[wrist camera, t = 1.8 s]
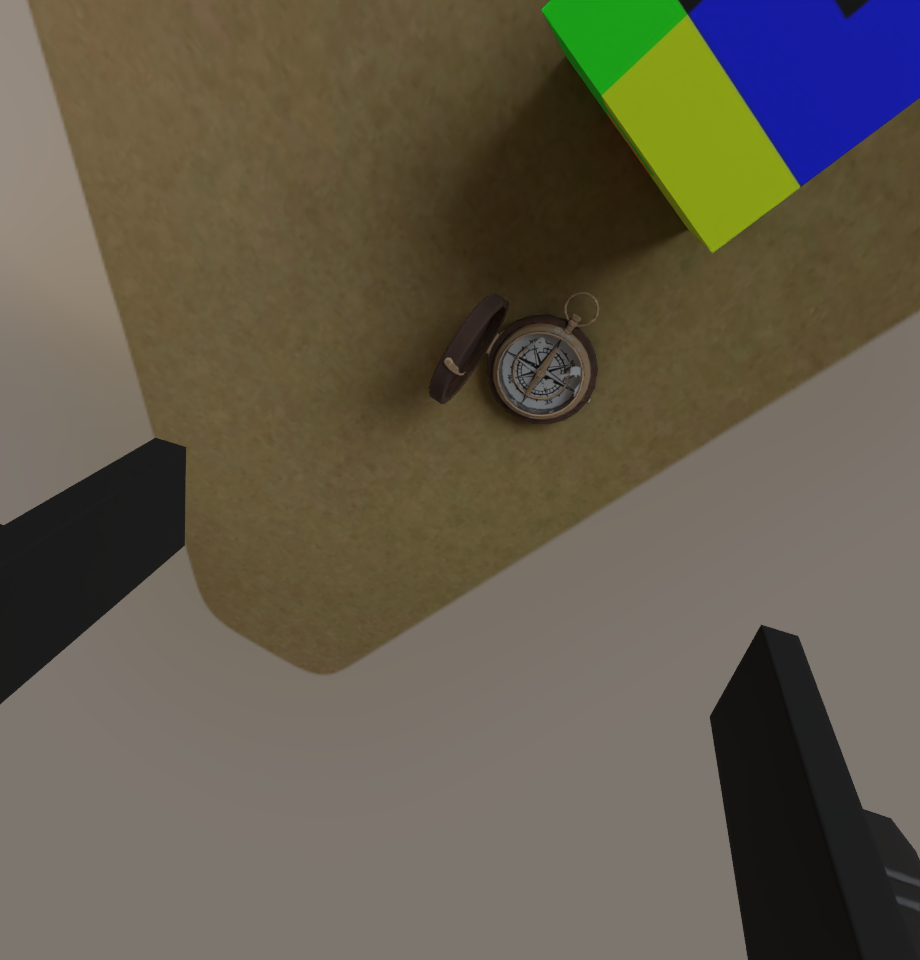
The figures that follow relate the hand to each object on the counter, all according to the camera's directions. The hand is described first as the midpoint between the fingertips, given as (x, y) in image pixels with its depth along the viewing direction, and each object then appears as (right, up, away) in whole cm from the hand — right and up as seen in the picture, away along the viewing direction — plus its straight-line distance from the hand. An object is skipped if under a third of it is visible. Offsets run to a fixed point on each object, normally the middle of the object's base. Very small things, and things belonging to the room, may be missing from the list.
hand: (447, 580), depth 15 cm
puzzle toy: (+12, +21, +15) cm, 28 cm away
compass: (+5, +10, +22) cm, 25 cm away
